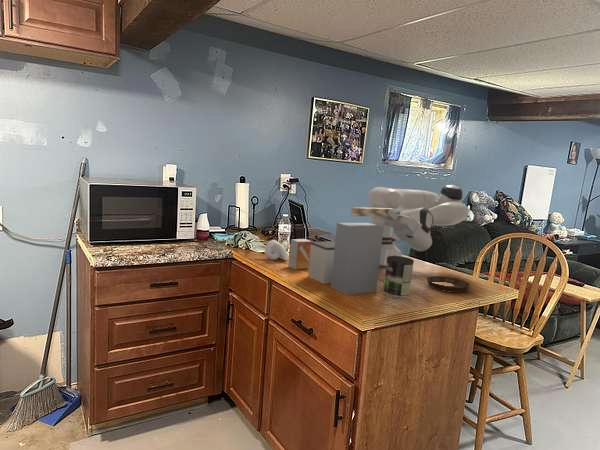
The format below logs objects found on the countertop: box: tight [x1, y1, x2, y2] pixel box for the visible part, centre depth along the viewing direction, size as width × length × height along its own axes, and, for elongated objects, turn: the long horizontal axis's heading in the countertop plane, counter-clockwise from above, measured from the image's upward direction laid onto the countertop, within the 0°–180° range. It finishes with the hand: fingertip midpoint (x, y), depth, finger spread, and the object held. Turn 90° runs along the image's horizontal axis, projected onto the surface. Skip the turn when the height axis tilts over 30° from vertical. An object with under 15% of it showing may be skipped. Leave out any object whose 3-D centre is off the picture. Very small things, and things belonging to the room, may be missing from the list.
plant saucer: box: [426, 275, 471, 293], centre depth 182 cm, size 18×18×3 cm
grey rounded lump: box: [264, 239, 289, 261], centre depth 210 cm, size 11×12×9 cm
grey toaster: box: [307, 240, 335, 285], centre depth 181 cm, size 18×12×15 cm, turn 120°
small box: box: [288, 238, 313, 270], centre depth 196 cm, size 8×6×13 cm
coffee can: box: [382, 256, 415, 299], centre depth 166 cm, size 10×10×14 cm
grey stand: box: [330, 222, 383, 295], centre depth 166 cm, size 15×10×26 cm, turn 120°
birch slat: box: [350, 206, 396, 217], centre depth 167 cm, size 19×4×3 cm, turn 120°
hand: (383, 210), depth 169 cm, fingers closed on birch slat, 3 cm apart
